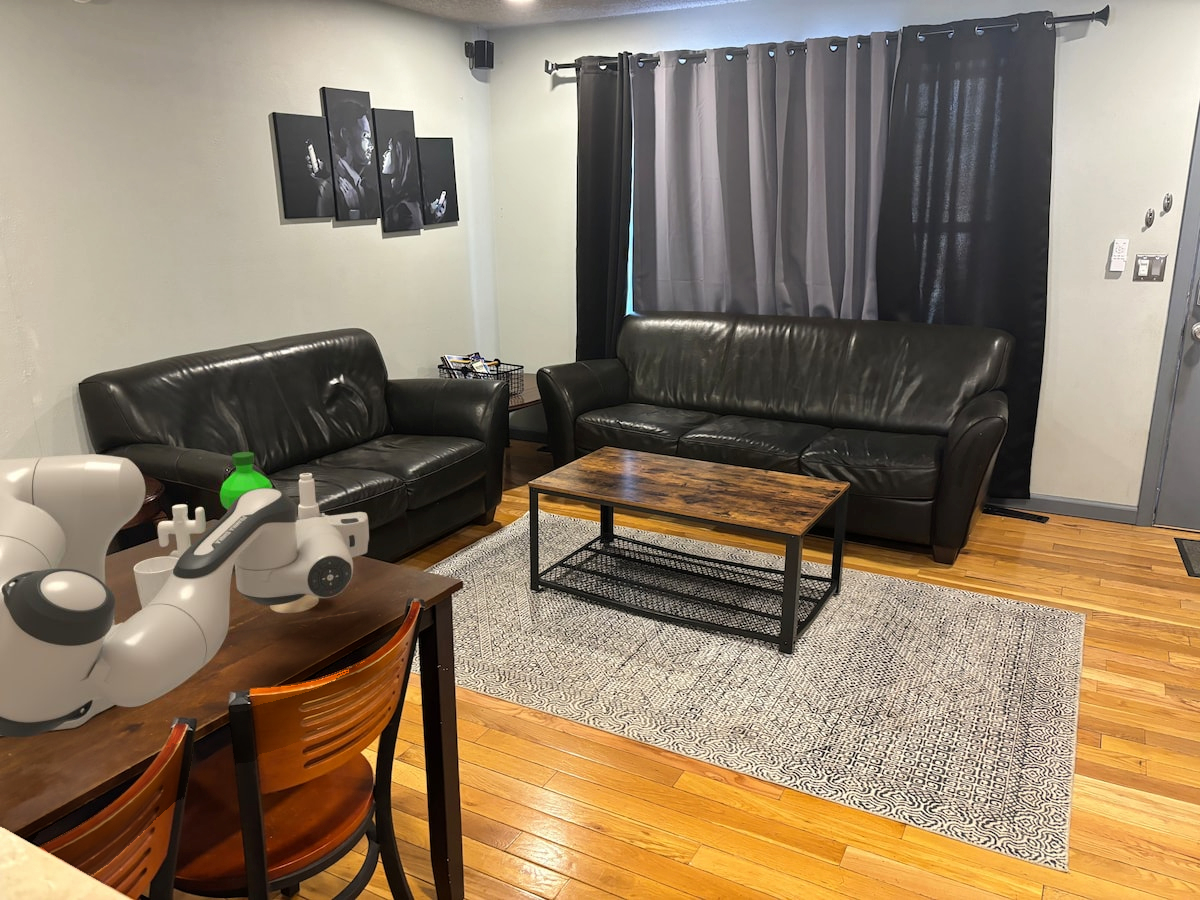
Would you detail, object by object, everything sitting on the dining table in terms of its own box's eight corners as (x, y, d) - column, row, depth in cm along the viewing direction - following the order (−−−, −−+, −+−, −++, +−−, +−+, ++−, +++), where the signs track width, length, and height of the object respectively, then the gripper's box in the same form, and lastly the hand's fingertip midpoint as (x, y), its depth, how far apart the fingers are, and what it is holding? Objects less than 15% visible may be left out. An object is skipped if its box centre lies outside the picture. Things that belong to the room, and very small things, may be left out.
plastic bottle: (289, 560, 188) (279, 450, 181) (257, 579, 178) (245, 463, 172) (251, 554, 191) (240, 446, 184) (217, 572, 181) (204, 458, 175)
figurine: (170, 566, 184) (161, 500, 180) (216, 565, 185) (208, 499, 181) (157, 580, 177) (148, 511, 173) (205, 579, 178) (197, 510, 174)
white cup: (168, 625, 158) (161, 574, 156) (130, 620, 160) (123, 570, 157) (195, 606, 166) (189, 558, 163) (159, 602, 167) (153, 554, 165)
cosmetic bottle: (305, 578, 168) (296, 469, 163) (335, 579, 168) (327, 470, 162) (292, 590, 162) (283, 478, 157) (323, 591, 162) (315, 479, 157)
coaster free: (272, 619, 161) (271, 616, 161) (268, 599, 169) (268, 597, 169) (322, 610, 165) (321, 607, 165) (316, 592, 173) (315, 589, 172)
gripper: (255, 569, 147) (249, 542, 159) (376, 551, 155) (362, 527, 167) (251, 535, 145) (246, 510, 157) (374, 518, 154) (360, 496, 166)
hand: (307, 518), depth 162 cm, fingers closed on cosmetic bottle, 3 cm apart
